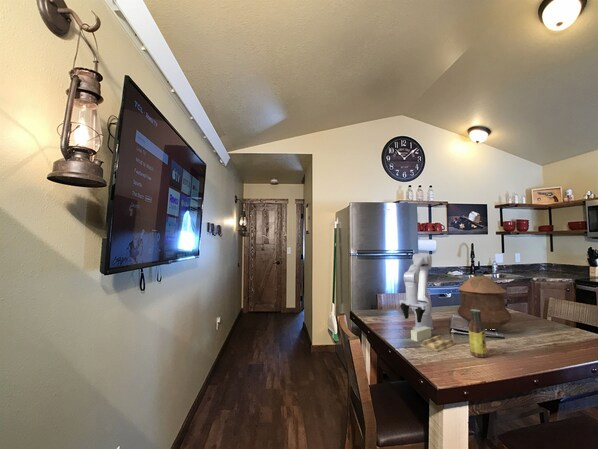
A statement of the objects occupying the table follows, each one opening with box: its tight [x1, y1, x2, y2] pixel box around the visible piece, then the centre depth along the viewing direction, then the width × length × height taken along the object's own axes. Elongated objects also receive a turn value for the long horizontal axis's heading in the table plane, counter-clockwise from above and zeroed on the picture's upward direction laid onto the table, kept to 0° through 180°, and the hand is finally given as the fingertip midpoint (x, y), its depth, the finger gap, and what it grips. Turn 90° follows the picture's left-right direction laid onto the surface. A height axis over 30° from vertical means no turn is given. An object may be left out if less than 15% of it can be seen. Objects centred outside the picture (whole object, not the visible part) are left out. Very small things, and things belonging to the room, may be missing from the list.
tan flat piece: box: [420, 335, 456, 353], centre depth 128 cm, size 15×8×2 cm, turn 121°
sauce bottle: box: [468, 309, 488, 358], centre depth 117 cm, size 7×6×20 cm
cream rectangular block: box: [410, 326, 432, 342], centre depth 137 cm, size 12×4×5 cm, turn 121°
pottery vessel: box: [457, 275, 513, 330], centre depth 151 cm, size 26×26×30 cm
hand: (412, 320), depth 138 cm, fingers open, 7 cm apart
